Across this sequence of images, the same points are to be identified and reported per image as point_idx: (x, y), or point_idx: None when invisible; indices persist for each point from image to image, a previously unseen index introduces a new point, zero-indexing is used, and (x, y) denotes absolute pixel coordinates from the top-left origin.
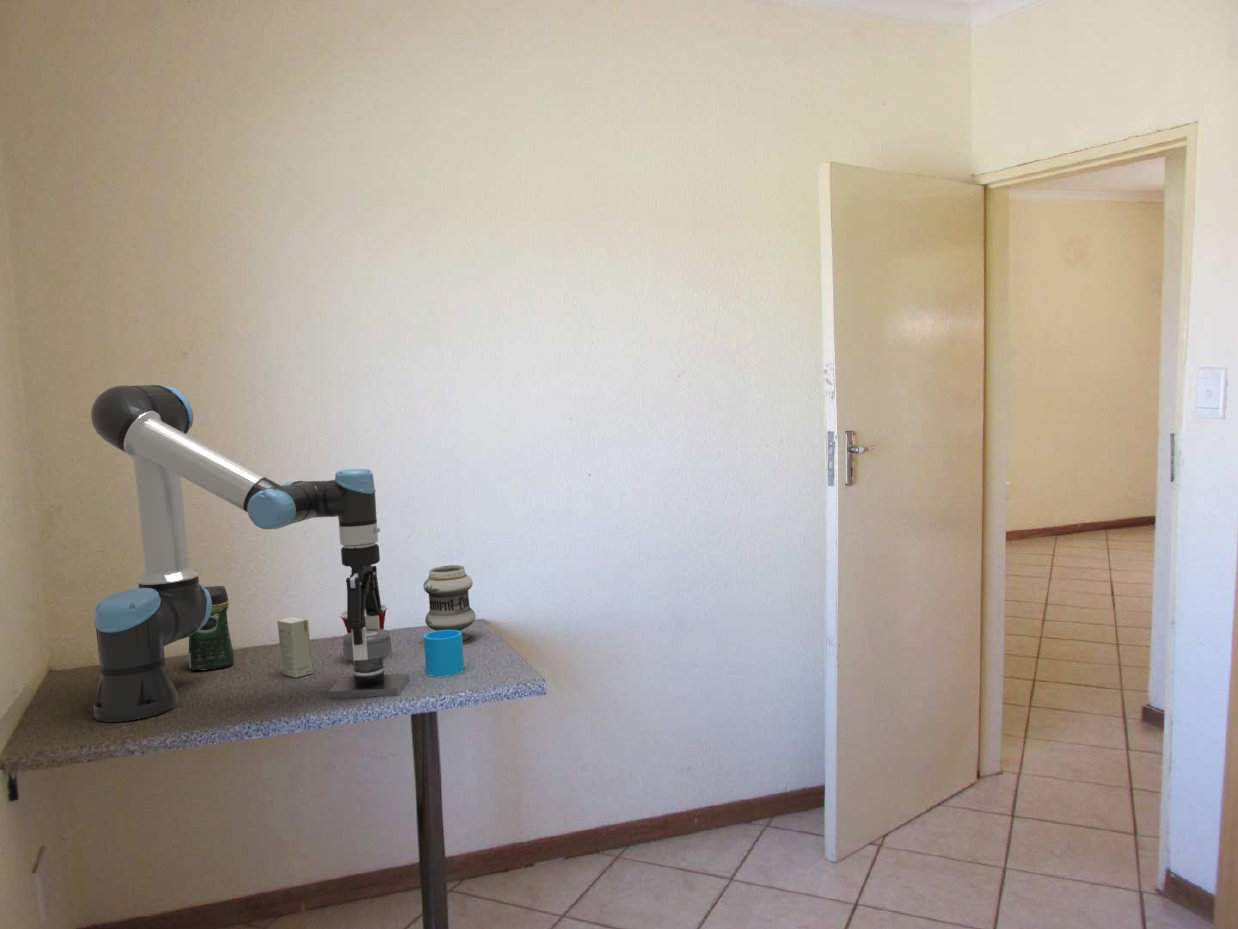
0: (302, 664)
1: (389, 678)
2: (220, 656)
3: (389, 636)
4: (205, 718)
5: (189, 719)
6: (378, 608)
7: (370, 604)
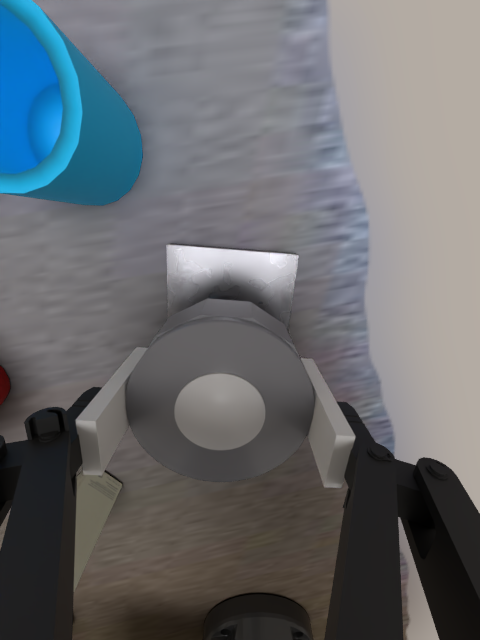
0: (98, 497)
1: (202, 291)
2: None
3: (212, 318)
4: (326, 547)
5: (323, 563)
6: (30, 450)
7: (70, 517)
